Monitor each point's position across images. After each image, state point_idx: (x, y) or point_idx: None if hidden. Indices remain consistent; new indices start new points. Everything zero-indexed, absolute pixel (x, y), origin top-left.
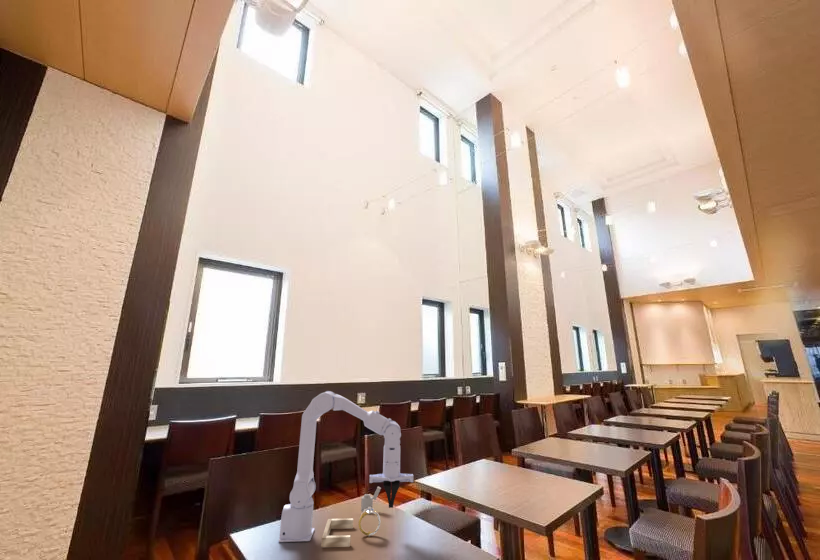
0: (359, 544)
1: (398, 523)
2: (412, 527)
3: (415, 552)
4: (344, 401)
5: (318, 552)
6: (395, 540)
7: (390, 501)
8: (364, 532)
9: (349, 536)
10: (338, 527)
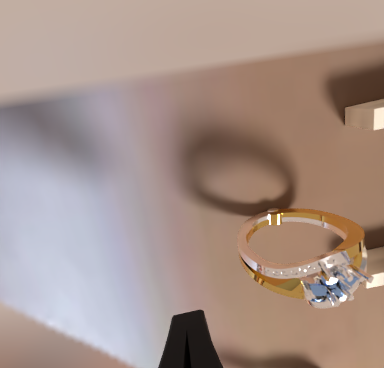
0: (303, 136)
1: None
2: (110, 303)
3: (33, 106)
4: None
5: None
6: (153, 195)
7: (192, 348)
8: (297, 211)
9: (378, 114)
10: None
